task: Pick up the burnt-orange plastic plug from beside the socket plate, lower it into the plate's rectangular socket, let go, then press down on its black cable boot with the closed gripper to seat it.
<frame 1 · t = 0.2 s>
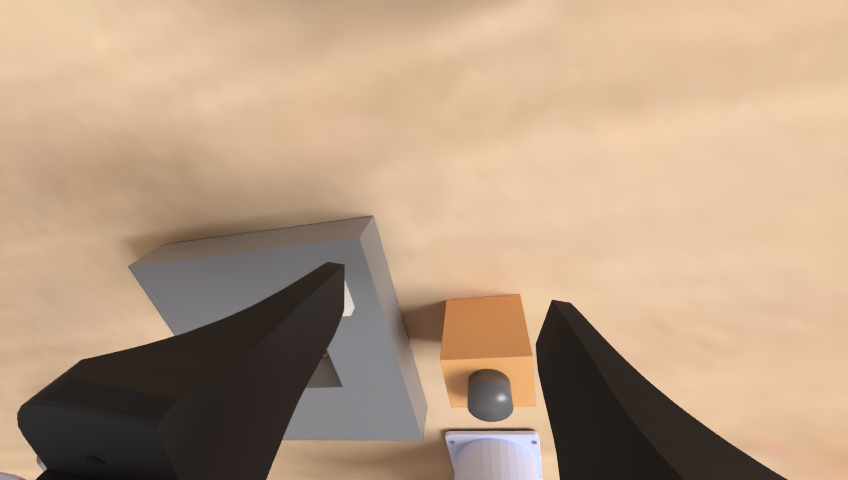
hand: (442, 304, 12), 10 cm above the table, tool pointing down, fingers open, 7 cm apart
plug: (485, 319, 24), on the table
socket plate: (307, 332, 27), on the table
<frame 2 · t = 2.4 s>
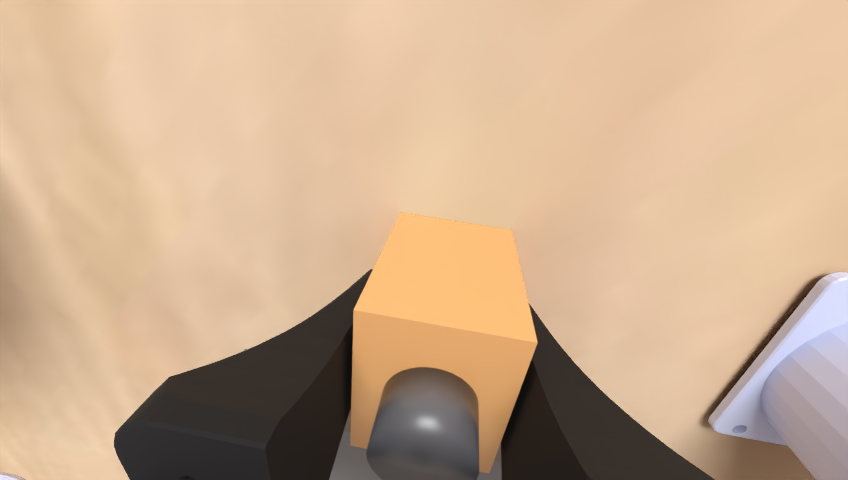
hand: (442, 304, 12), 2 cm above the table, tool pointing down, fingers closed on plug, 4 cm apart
plug: (445, 278, 13), on the table, touching gripper
socket plate: (410, 476, 20), on the table
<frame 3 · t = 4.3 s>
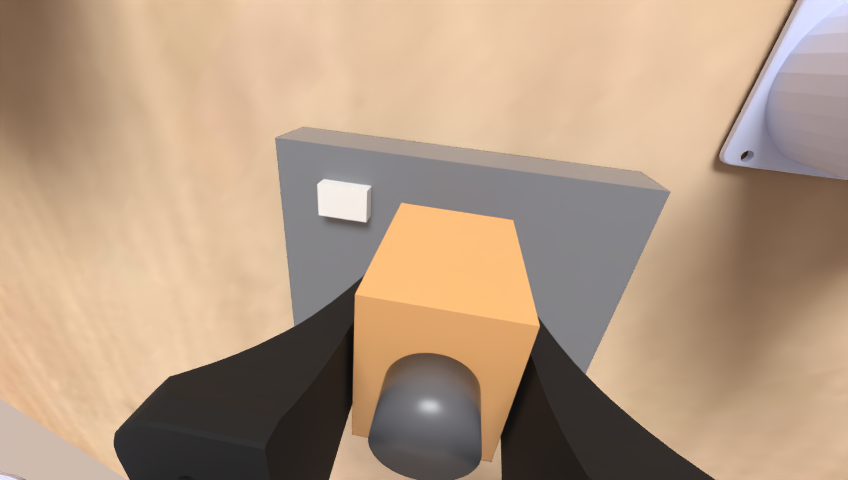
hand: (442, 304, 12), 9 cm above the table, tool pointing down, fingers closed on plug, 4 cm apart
plug: (446, 270, 13), point 7 cm above the table, touching gripper
socket plate: (446, 273, 22), on the table
when the fingers open (3 cm above the table, at t = 6.5 s): plug drops 2 cm, resting in socket plate.
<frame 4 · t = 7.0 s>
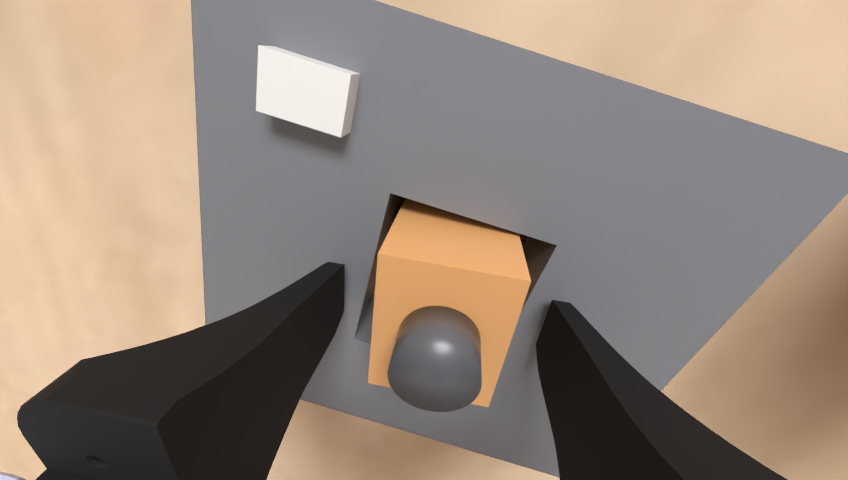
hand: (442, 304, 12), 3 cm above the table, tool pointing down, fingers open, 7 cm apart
plug: (450, 248, 15), resting in socket plate
socket plate: (448, 256, 15), on the table
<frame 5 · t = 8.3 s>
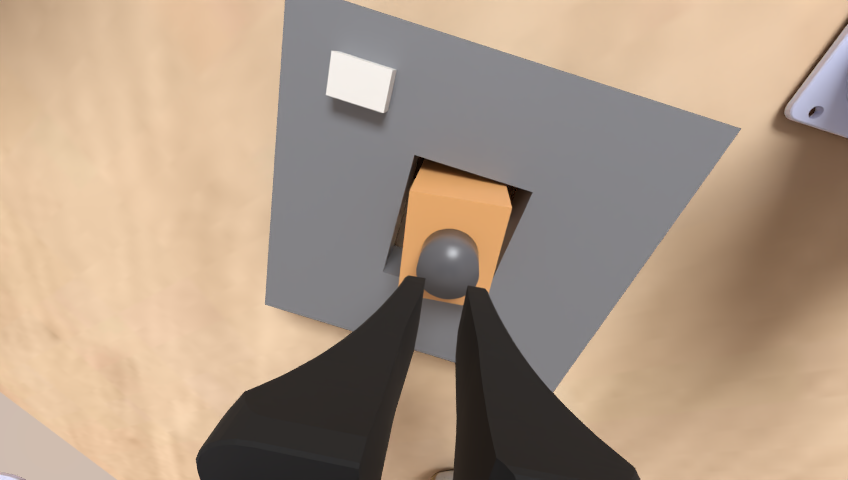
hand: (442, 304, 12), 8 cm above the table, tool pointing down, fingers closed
plug: (455, 205, 19), resting in socket plate
socket plate: (454, 211, 19), on the table
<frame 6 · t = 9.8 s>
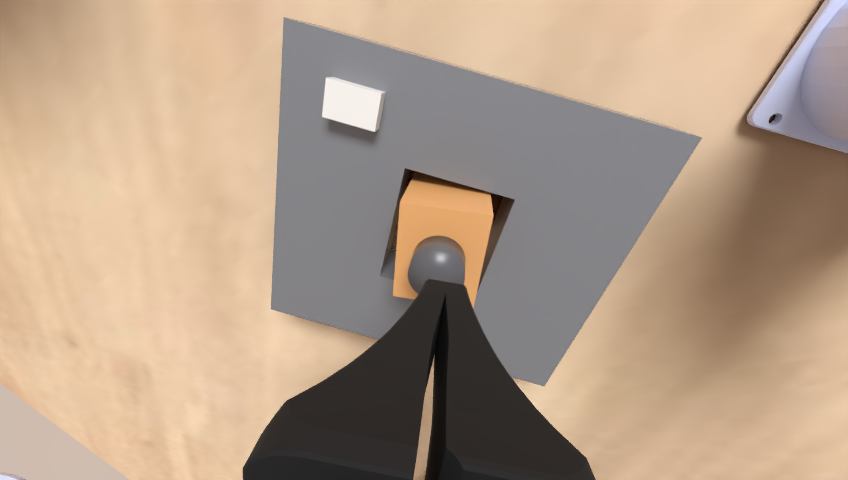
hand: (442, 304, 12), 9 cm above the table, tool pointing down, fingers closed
plug: (446, 212, 21), resting in socket plate
socket plate: (445, 218, 21), on the table
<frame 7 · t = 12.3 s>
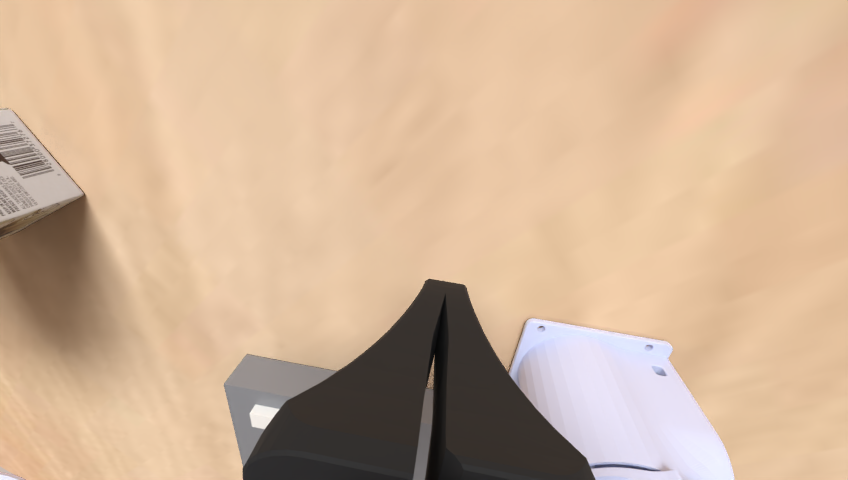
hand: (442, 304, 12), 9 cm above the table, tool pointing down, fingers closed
coffee box: (16, 176, 24), on the table
socket plate: (350, 433, 32), on the table
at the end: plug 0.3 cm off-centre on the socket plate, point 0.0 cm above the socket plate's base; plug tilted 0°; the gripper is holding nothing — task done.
